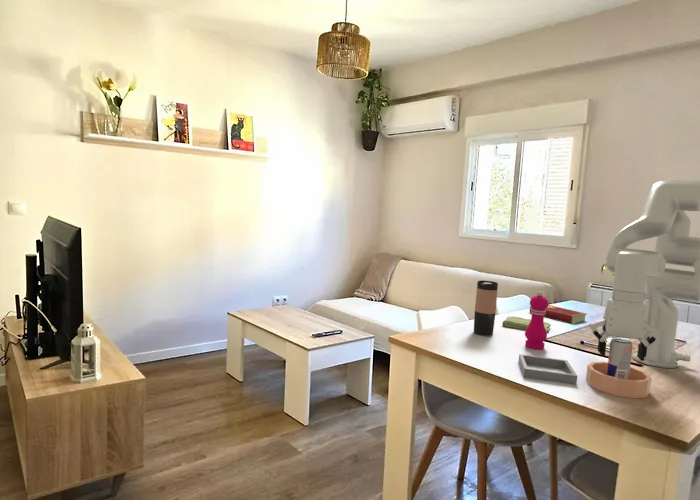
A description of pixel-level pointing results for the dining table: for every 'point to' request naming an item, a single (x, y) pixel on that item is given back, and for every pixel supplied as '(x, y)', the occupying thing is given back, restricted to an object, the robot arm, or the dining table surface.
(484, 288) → the travel mug
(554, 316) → the hardcover book
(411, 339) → the dining table surface
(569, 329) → the dining table surface
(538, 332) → the pepper mill
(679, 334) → the dining table surface
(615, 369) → the energy drink
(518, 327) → the washcloth
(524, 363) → the parts tray
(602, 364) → the bowl
